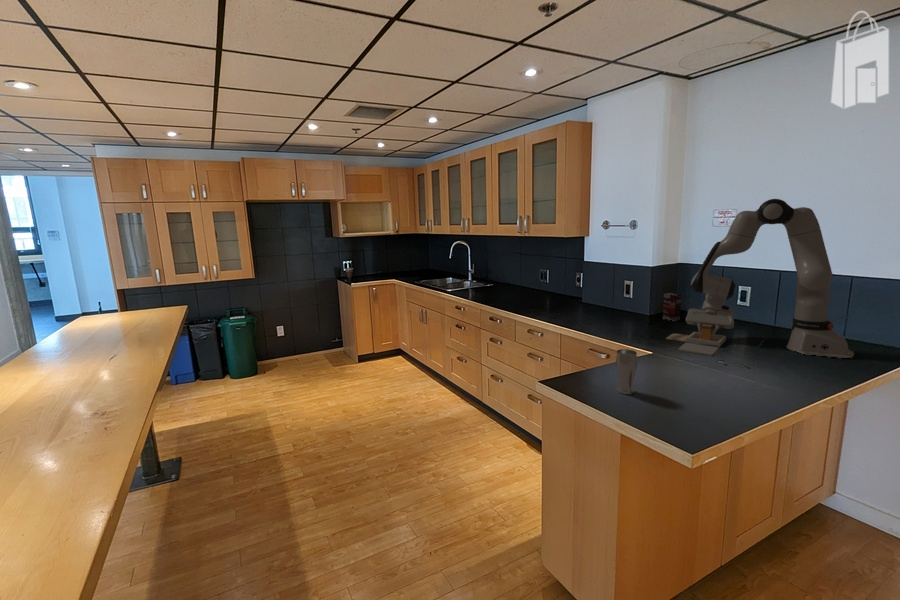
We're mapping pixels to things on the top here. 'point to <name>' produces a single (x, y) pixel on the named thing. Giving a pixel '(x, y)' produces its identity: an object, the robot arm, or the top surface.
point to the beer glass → (626, 370)
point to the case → (702, 344)
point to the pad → (677, 337)
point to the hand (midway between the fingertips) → (706, 332)
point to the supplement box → (671, 306)
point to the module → (706, 332)
